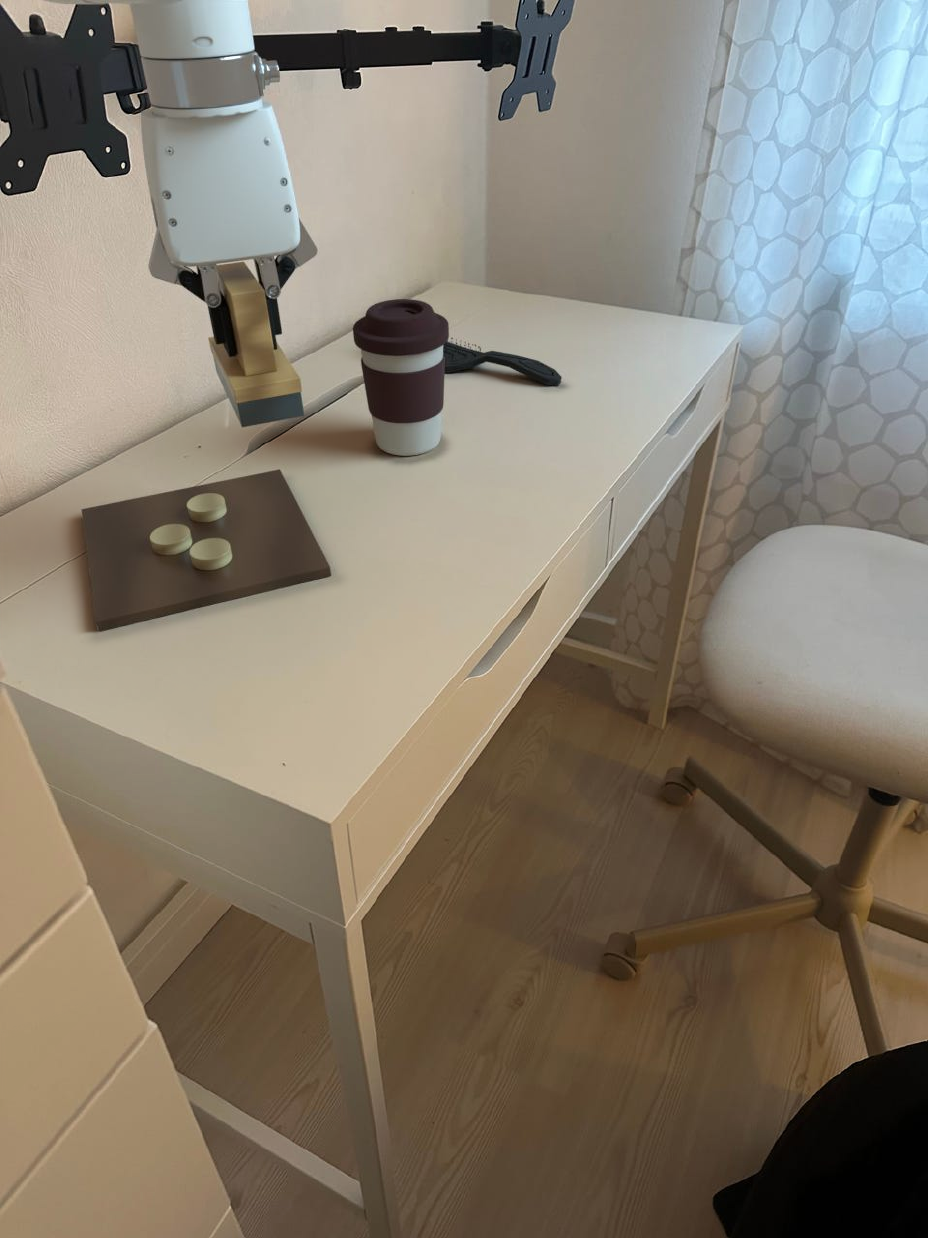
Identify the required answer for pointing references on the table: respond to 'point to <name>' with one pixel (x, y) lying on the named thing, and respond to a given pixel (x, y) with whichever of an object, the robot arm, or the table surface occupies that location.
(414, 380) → the coffee cup
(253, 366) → the brush
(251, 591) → the tray
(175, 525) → the disc
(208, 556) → the token
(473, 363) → the hairbrush
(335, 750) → the table surface
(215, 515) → the token
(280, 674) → the table surface
